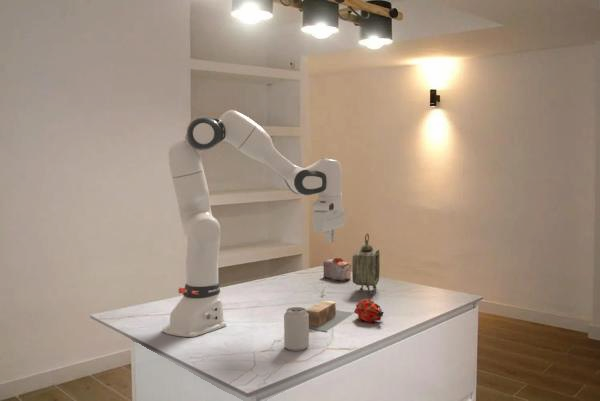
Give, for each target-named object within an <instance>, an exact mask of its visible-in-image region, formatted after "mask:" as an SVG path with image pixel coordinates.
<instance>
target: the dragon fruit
mask: <svg viewBox="0 0 600 401" xmlns="http://www.w3.org/2000/svg"><path fill="white" fill-rule="evenodd" d="M355 306H356V308H355V309H354V311H353V314H355V315H357V318H358V320H359V322H362V321H364V322H366V323H367V324H369V323H370V324H373V325H374V324H376V323H375V322H377V321H378V322H381V320H382V318H383V317H384V316H383V315H384V311H383V309H382V308H381V306H380V305H378V304H377V303H375V302H374V301H373V300H372V299H368V298H364V299H361V300H360V301H359V302H358V303H357V304H356V305H355Z"/></svg>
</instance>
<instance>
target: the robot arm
mask: <svg viewBox="0 0 600 401" xmlns="http://www.w3.org/2000/svg"><path fill="white" fill-rule="evenodd" d="M186 128H187V129H186V133H185V137H184V139H183V140H182V141H179V142H176V143H174V144H171V146H170V147H169V149H168V166H169V171H170V175H171V180H172V183H173V184H172V185H173V187H174V192H175V195H176V200H177V206H178V210H179V211H178V212H179V217H180V221H181V227H182V230H183V234H184V235H185V236H186V239H187V246H186V247H187V248H186V260H185V276H186V277H185V278H186V282H185V285H184V287H179V288H177V292H178V294H182V295H183V296H182V298H181V299H179V301H178V303H177V304H176V306H175V307H174V308H173V309H172V310H171V311H170V315H169V324H167V325H166V326H164V327H163V328H162V332H163V333H165V334H167V335H172V336H176V337H185V338H186V337H190V338H192V337H198V336H200V335H204V334H206V333H209V332H214V331H215V330H219V329H221V328H224V327H227V322H226V321H225V318H224V311H223V310H224V308H223V303H222V300H221V297H220V293H221V284H220V281H219V255H220V248H221V247H220V246H221V244H220V243H221V233H222V232H221V230H222V229H221V226H220V225H221V224H220V222H219V221H218V220H217V218H216V217H214V215H213V213H212V207H211V200H210V199H211V198H210V190H209V187H208V183H207V182H208V181H207V178H206V174H205V170H204V165H203V161H202V154H203V152H204V151H205V150H210V149H212V148H214V147H215V146H217V145H218V144H219V143H221V142H222V141H223V142H226V143H227V144H230V145H231V146H233V147H234V148H235V149H237V150H238V151H239V152H241V153H242V154H244V155H245V156H246V157H249V158H250V159H253V160H255V161H258V162H260V163H262V164H265V165H266V166H267V167H268V168H270V169H271V170H272V171H274V172H275V173H276V174H277V175H279V176H280V177H281V178H282V179H283V180H284V182H285V183H286V186H287V187H288V189H289V190H290V191H291V192H292V193H294V194H296V195H302V196H312V195H316V194H317V199H316V200H315V201H314V202H313V203H312V204H311V211H313V212H312V229H313V232H314V233H319V234H323V233H324V237H325V241H326V243H333V242H335V235H336V233H337V232H336V230H337V229H340V228H342V227H345V226H346V225H345V224H346V213H345V212H346V211H345V208H344V207H343V193H342V186H343V174H342V173H343V172H342V171H343V170H342V165H341V163H340V162H339V161H338V160H335V159H330V158H325V157H323V158H319V159H318V160H317V161H316V162H313V164H311V165H308V166H306V167H305V166H304V167H303V166H298V165H296V164H294V163H292V162H291V161H290V160H289V159H288V158H286V157H285V156H284V155H283V154H281V153H280V152H279V151H278V150H277V149H276V148H275V145H274V143H273V140H272V137H271V136H270V135H269V134H268V132H266V130H265V129H264V128H263V127H262V126H260V125H259V124H257V123H256V122H255V121H254V120H252V119H251V118H249V117H248V116H246V115H245V114H243V113H241V112H239V111H237V110H236V109H235V110H234V109H230V110H227V111H225V112H224V113H223V114H222V115H220V117H219V118H212V117H209V116H197V117H195V118H194V119H192V120H191V121H190V122H189V123H188V125H187V127H186Z"/></svg>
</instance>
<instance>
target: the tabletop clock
mask: <svg viewBox="0 0 600 401" xmlns="http://www.w3.org/2000/svg"><path fill="white" fill-rule="evenodd" d="M369 240H370V235H369V233H366V234H365V236H364V244H362V246H361V247H360V249H358V250H356V251H355V252H354V253H353V254H352V262H351V265H352V266H351V274H352V283H353V284H355V285H357V286H361V287H360V288H359V291H360V293H361V292H363V291H364V286H365V287H366V288H367V291H368V293H367V294H368V296H371V295H373V293H372V291H371V290H370V287H372V289H373V290H376V289H377V285H378V283H379V281H380V268H381V267H380V264H381V262H380V258H381V257H380V250H379V249H374V248H373V246H372V245H371V244H369Z"/></svg>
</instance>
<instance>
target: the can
mask: <svg viewBox="0 0 600 401" xmlns="http://www.w3.org/2000/svg"><path fill="white" fill-rule="evenodd" d="M306 310H307V308H305V307H303V306H302V307H300V306H299V307H298V306H295V307H293V306H292V307H289V308H286V309H285V313H284V314H283V335H284V336H283V337H284V339H283V340H284V342H283V345H284V346H285V347H286V349H287V350H288V351H293V352H301V351H303V350H306V349H307V348H308V347H309V345H310V337H309V336H310V332H309V331H310V330H309V314H308V313H307V312H306Z"/></svg>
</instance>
